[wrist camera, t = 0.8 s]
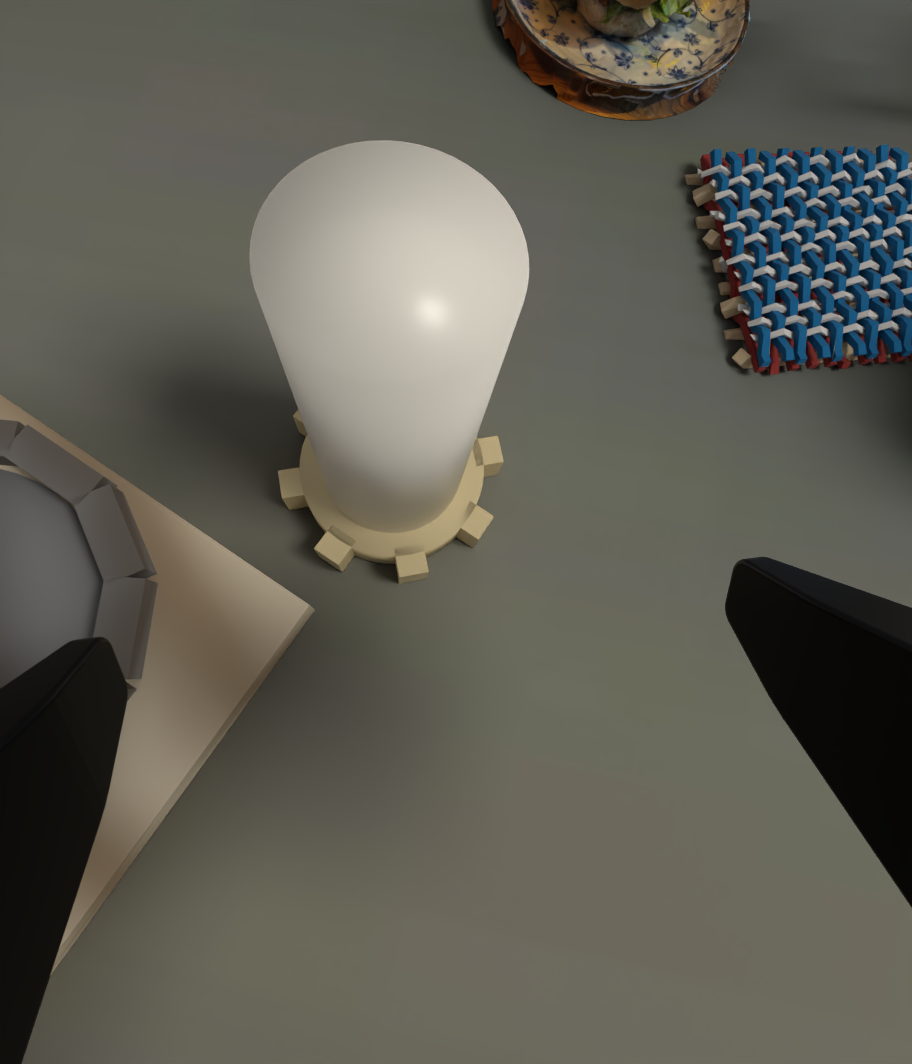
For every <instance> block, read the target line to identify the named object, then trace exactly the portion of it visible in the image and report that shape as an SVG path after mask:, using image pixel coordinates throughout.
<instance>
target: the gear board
mask: <svg viewBox="0 0 912 1064" xmlns="http://www.w3.org/2000/svg"><path fill="white" fill-rule="evenodd" d="M314 611H315V609H314V608H313V607H311V606H310V605H309V604H307V603H306V602H304V601H303V600H301V599H300V598H298V597H297V596H295V595H294V594H293V593H291V592H290V591H288V590H287V589H285V588H284V587H282V586H281V585H279V584H278V583H276V582H275V581H273V580H272V579H271V578H269V577H268V576H266V575H265V574H263V573H262V572H260V571H259V570H257V569H256V568H254V567H253V566H251V565H250V564H248V563H247V562H246V561H244V560H243V559H241V558H240V557H238V556H237V555H235V554H234V553H232V552H231V551H229V550H228V549H226V548H225V547H223V546H222V545H221V544H219V543H218V542H216V541H215V540H213V539H212V538H210V537H209V536H207V535H206V534H204V533H203V532H201V531H200V530H199V529H197V528H196V527H194V526H193V525H191V524H190V523H188V522H187V521H185V520H184V519H182V518H181V517H179V516H178V515H176V514H175V513H174V512H172V511H171V510H169V509H168V508H166V507H165V506H163V505H162V504H160V503H159V502H157V501H156V500H154V499H153V498H151V497H150V496H149V495H147V494H146V493H144V492H143V491H141V490H140V489H138V488H137V487H135V486H134V485H132V484H131V483H129V482H128V481H127V480H125V479H124V478H122V477H121V476H119V475H118V474H116V473H115V472H113V471H112V470H110V469H109V468H107V467H106V466H104V465H103V464H102V463H100V462H99V461H97V460H96V459H94V458H93V457H91V456H90V455H88V454H87V453H85V452H84V451H82V450H81V449H80V448H78V447H77V446H75V445H74V444H72V443H71V442H69V441H68V440H66V439H65V438H63V437H62V436H60V435H59V434H57V433H56V432H55V431H53V430H52V429H50V428H49V427H47V426H46V425H44V424H43V423H41V422H40V421H38V420H37V419H35V418H34V417H32V416H31V415H30V414H28V413H27V412H25V411H24V410H22V409H21V408H19V407H18V406H16V405H15V404H13V403H12V402H10V401H9V400H8V399H6V398H5V397H3V396H2V395H0V688H2V687H3V686H5V685H6V684H8V683H9V682H10V681H12V680H13V679H15V678H16V677H18V676H19V675H21V674H22V673H24V672H25V671H27V670H28V669H29V668H31V667H32V666H34V665H35V664H37V663H38V662H40V661H41V660H43V659H44V658H46V657H47V656H49V655H50V654H51V653H53V652H54V651H56V650H57V649H59V648H60V647H62V646H63V645H65V644H66V643H68V642H69V641H72V640H75V639H84V638H92V637H104V638H106V639H108V640H109V642H110V643H111V645H112V647H113V649H114V652H115V655H116V657H117V660H118V662H119V665H120V667H121V670H122V672H123V675H124V677H125V680H126V683H127V688H128V699H127V705H126V710H125V715H124V720H123V725H122V730H121V734H120V739H119V744H118V749H117V754H116V759H115V764H114V769H113V774H112V779H111V784H110V789H109V793H108V797H107V801H106V806H105V809H104V812H103V816H102V819H101V822H100V825H99V829H98V832H97V835H96V838H95V841H94V844H93V847H92V850H91V853H90V856H89V859H88V862H87V865H86V868H85V871H84V874H83V877H82V880H81V883H80V887H79V890H78V893H77V896H76V899H75V902H74V905H73V908H72V911H71V914H70V917H69V920H68V923H67V926H66V929H65V932H64V935H63V938H62V941H61V945H60V948H59V951H58V954H57V957H56V960H55V963H54V966H53V969H52V972H51V974H52V973H53V972H54V970H55V969H56V967H57V966H58V965H59V963H60V962H61V960H62V959H63V958H64V956H65V955H66V954H67V952H68V951H69V949H70V948H71V947H72V945H73V944H74V943H75V941H76V940H77V938H78V937H79V936H80V934H81V933H82V931H83V930H84V929H85V927H86V926H87V925H88V923H89V922H90V920H91V919H92V918H93V916H94V915H95V913H96V912H97V911H98V909H99V908H100V907H101V905H102V904H103V902H104V901H105V900H106V898H107V897H108V896H109V894H110V893H111V891H112V890H113V889H114V887H115V886H116V884H117V883H118V882H119V880H120V879H121V878H122V876H123V875H124V873H125V872H126V871H127V869H128V868H129V867H130V865H131V864H132V862H133V861H134V860H135V858H136V857H137V855H138V854H139V853H140V851H141V850H142V849H143V847H144V846H145V844H146V843H147V842H148V840H149V839H150V837H151V836H152V835H153V833H154V832H155V831H156V829H157V828H158V826H159V825H160V824H161V822H162V821H163V820H164V818H165V817H166V815H167V814H168V813H169V811H170V810H171V808H172V807H173V806H174V804H175V803H176V802H177V800H178V799H179V797H180V796H181V795H182V793H183V792H184V790H185V789H186V788H187V786H188V785H189V784H190V782H191V781H192V779H193V778H194V777H195V775H196V774H197V773H198V771H199V770H200V768H201V767H202V766H203V764H204V763H205V761H206V760H207V759H208V757H209V756H210V755H211V753H212V752H213V750H214V749H215V748H216V746H217V745H218V744H219V742H220V741H221V739H222V738H223V737H224V735H225V734H226V732H227V731H228V730H229V728H230V727H231V726H232V724H233V723H234V721H235V720H236V719H237V717H238V716H239V714H240V713H241V712H242V710H243V709H244V708H245V706H246V705H247V703H248V702H249V701H250V699H251V698H252V697H253V695H254V694H255V692H256V691H257V690H258V688H259V687H260V685H261V684H262V683H263V681H264V680H265V679H266V677H267V676H268V674H269V673H270V672H271V670H272V669H273V668H274V666H275V665H276V663H277V662H278V661H279V659H280V658H281V656H282V655H283V654H284V652H285V651H286V650H287V648H288V647H289V645H290V644H291V643H292V641H293V640H294V638H295V637H296V636H297V634H298V633H299V632H300V630H301V629H302V627H303V626H304V625H305V623H306V622H307V621H308V619H309V618H310V616H311V615H312V614H313V612H314ZM50 976H51V975H50Z"/></svg>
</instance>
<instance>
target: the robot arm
mask: <svg viewBox="0 0 912 1064" xmlns="http://www.w3.org/2000/svg"><path fill="white" fill-rule="evenodd" d="M725 611H726V616H727V619H728V621H729V623H730V625H731V627H732V629H733V631H734V632H735V634H736V636H737V638H738V640H739V642H740V644H741V645H742V647H743V649H744V651H745V653H746V655H747V657H748V658H749V660H750V662H751V664H752V666H753V668H754V670H755V671H756V673H757V675H758V677H759V679H760V681H761V683H762V684H763V686H764V688H765V690H766V692H767V693H768V695H769V697H770V699H771V700H772V702H773V704H774V705H775V707H776V708H777V710H778V711H779V713H780V715H781V716H782V718H783V719H784V721H785V722H786V724H787V725H788V726H789V728H790V729H791V731H792V732H793V734H794V735H795V737H796V738H797V740H798V741H799V743H800V744H801V746H802V747H803V749H804V750H805V751H806V753H807V754H808V756H809V757H810V759H811V760H812V762H813V763H814V765H815V766H816V768H817V769H818V771H819V772H820V774H821V775H822V776H823V778H824V779H825V781H826V782H827V784H828V785H829V787H830V788H831V790H832V791H833V793H834V794H835V796H836V797H837V799H838V800H839V801H840V803H841V804H842V806H843V807H844V809H845V810H846V812H847V813H848V815H849V816H850V818H851V819H852V821H853V822H854V824H855V825H856V826H857V828H858V829H859V831H860V832H861V834H862V835H863V837H864V838H865V840H866V841H867V843H868V844H869V846H870V847H871V849H872V850H873V851H874V853H875V854H876V856H877V857H878V859H879V860H880V862H881V863H882V865H883V866H884V868H885V869H886V871H887V872H888V874H889V875H890V876H891V878H892V879H893V881H894V882H895V884H896V885H897V887H898V888H899V890H900V891H901V893H902V894H903V896H904V897H905V899H906V900H907V901H908V903H909V904H910V906H911V907H912V608H910V607H908V606H905V605H902V604H899V603H896V602H893V601H890V600H888V599H885V598H882V597H879V596H876V595H873V594H870V593H868V592H865V591H862V590H859V589H856V588H853V587H850V586H848V585H845V584H842V583H839V582H836V581H833V580H831V579H828V578H825V577H822V576H819V575H816V574H813V573H811V572H808V571H805V570H802V569H799V568H796V567H793V566H791V565H788V564H785V563H782V562H779V561H776V560H773V559H771V558H767V557H757V558H749V559H742V560H740V561H738V562H737V563H736V564H735V566H734V568H733V572H732V576H731V581H730V585H729V589H728V594H727V598H726V603H725ZM127 699H128V688H127V683H126V680H125V677H124V675H123V672H122V670H121V667H120V665H119V662H118V660H117V657H116V655H115V652H114V649H113V647H112V645H111V643H110V642H109V640H108V639H106V638H104V637H92V638H84V639H75V640H72V641H69V642H68V643H66V644H65V645H63V646H62V647H60V648H59V649H57V650H56V651H54V652H53V653H51V654H50V655H49V656H47V657H46V658H44V659H43V660H41V661H40V662H38V663H37V664H35V665H34V666H32V667H31V668H29V669H28V670H27V671H25V672H24V673H22V674H21V675H19V676H18V677H16V678H15V679H13V680H12V681H10V682H9V683H8V684H6V685H5V686H3V687H2V688H0V1064H22V1061H23V1057H24V1054H25V1051H26V1048H27V1045H28V1042H29V1039H30V1036H31V1033H32V1030H33V1027H34V1024H35V1021H36V1018H37V1015H38V1012H39V1009H40V1006H41V1003H42V999H43V996H44V993H45V990H46V987H47V984H48V981H49V978H50V975H51V972H52V969H53V966H54V963H55V960H56V957H57V954H58V951H59V948H60V945H61V941H62V938H63V935H64V932H65V929H66V926H67V923H68V920H69V917H70V914H71V911H72V908H73V905H74V902H75V899H76V896H77V893H78V890H79V887H80V883H81V880H82V877H83V874H84V871H85V868H86V865H87V862H88V859H89V856H90V853H91V850H92V847H93V844H94V841H95V838H96V835H97V832H98V829H99V825H100V822H101V819H102V816H103V812H104V809H105V806H106V801H107V797H108V793H109V789H110V784H111V779H112V774H113V769H114V764H115V759H116V754H117V749H118V744H119V739H120V734H121V730H122V725H123V720H124V715H125V710H126V705H127Z"/></svg>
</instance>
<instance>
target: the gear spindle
mask: <svg viewBox="0 0 912 1064" xmlns="http://www.w3.org/2000/svg"><path fill="white" fill-rule="evenodd" d="M249 257H250V271H251V276H252V280H253V284H254V289H255V291H256V294H257V297H258V300H259V302H260V305H261V308H262V311H263V313H264V316H265V319H266V322H267V324H268V327H269V330H270V333H271V335H272V338H273V341H274V344H275V346H276V349H277V352H278V355H279V357H280V360H281V363H282V366H283V368H284V371H285V374H286V377H287V379H288V382H289V385H290V388H291V391H292V393H293V396H294V399H295V402H296V404H297V407H298V410H297V411H296V413H295V414H294V415H293V418H294V420H295V423H296V426H297V428H298V431H299V433H301V434H302V435H304V436H305V440H304V443H303V446H302V451H301V456H300V467H298V468H292V469H285V470H279V471H278V475H279V482H280V489H281V495H282V499H283V501H284V502H285V504H286V505H287V507H288V509H289V510H292V509H298V508H304V507H309V508H310V510H311V512H312V514H313V515H314V517H315V519H316V521H317V523H318V524H319V526H320V527H321V529H322V530H323V531H324V533H325V534H324V536H323V537H322V538H321V540H320V541H319V542H318V544H317V545H316V546H315V548H314V549H315V551H316V552H317V554H318V556H319V557H320V558H322V559H323V560H325V561H326V562H328V563H329V564H331V565H332V566H334V567H335V568H337V569H338V570H340V571H341V572H343V571H344V569H345V568H346V567H347V565H348V564H349V562H350V561H351V560H352V558H353V557H354V556H357V557H359V558H362V559H365V560H368V561H372V562H377V563H384V564H395V565H396V570H397V576H398V581H399V584H400V583H406V582H411V581H416V580H422V579H426V578H427V575H428V572H429V571H428V566H427V561H426V557H428V556H431V555H433V554H434V553H436V552H438V551H440V550H441V549H443V548H444V547H445V546H447V545H448V544H450V543H451V542H452V541H453V540H454V539H455V538H456V537H457V538H458V539H460V540H461V541H463V542H464V543H466V544H467V545H469V546H470V547H472V548H473V547H474V546H475V544H476V543H477V541H478V540H479V538H480V537H481V536H482V534H483V533H484V531H485V530H486V528H487V527H488V525H489V523H490V522H491V520H492V519H493V517H494V516H492V515H491V514H489V513H488V512H486V511H485V510H483V509H482V508H480V507H479V506H477V505H476V504H477V501H478V499H479V497H480V493H481V489H482V485H483V477H488V476H494V475H497V474H498V472H499V470H500V468H501V466H502V464H503V462H504V461H503V457H502V452H501V448H500V444H499V439H498V436H493V437H487V438H481V439H478V438H477V434H478V431H479V428H480V425H481V422H482V419H483V416H484V414H485V411H486V408H487V405H488V402H489V399H490V397H491V394H492V391H493V388H494V385H495V382H496V379H497V377H498V374H499V371H500V368H501V365H502V362H503V360H504V357H505V354H506V351H507V348H508V345H509V342H510V340H511V337H512V334H513V331H514V328H515V325H516V323H517V320H518V317H519V314H520V311H521V308H522V305H523V303H524V299H525V295H526V291H527V287H528V278H529V256H528V251H527V245H526V240H525V237H524V234H523V231H522V229H521V226H520V224H519V222H518V220H517V218H516V216H515V214H514V212H513V210H512V209H511V207H510V206H509V204H508V203H507V201H506V200H505V198H504V197H503V196H502V195H501V194H500V192H499V191H498V190H497V189H496V188H495V187H494V186H493V185H492V184H491V183H490V182H489V181H488V180H487V179H486V178H485V177H483V176H482V175H481V174H480V173H478V172H477V171H476V170H474V169H473V168H471V167H470V166H469V165H467V164H465V163H463V162H462V161H460V160H458V159H456V158H454V157H453V156H450V155H448V154H446V153H443V152H441V151H438V150H436V149H432V148H429V147H426V146H422V145H418V144H413V143H407V142H401V141H388V140H381V141H364V142H357V143H351V144H347V145H343V146H339V147H335V148H333V149H330V150H327V151H325V152H322V153H320V154H318V155H316V156H314V157H312V158H310V159H308V160H306V161H305V162H303V163H302V164H300V165H299V166H297V167H296V168H295V169H293V170H292V171H291V172H289V173H288V174H287V175H286V176H285V177H284V178H283V179H282V180H281V181H280V182H279V183H278V184H277V185H276V187H275V188H274V189H273V190H272V191H271V193H270V194H269V195H268V197H267V199H266V200H265V202H264V204H263V205H262V207H261V209H260V211H259V214H258V216H257V218H256V221H255V223H254V227H253V232H252V236H251V241H250V254H249Z"/></svg>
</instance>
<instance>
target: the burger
mask: <svg viewBox="0 0 912 1064" xmlns="http://www.w3.org/2000/svg"><path fill="white" fill-rule="evenodd" d="M749 7H750V5H749V0H493V1H492V8H493V11H494V12H495V26H496V27H497V26H499V25H500V26H501V29H502V30H503V34H504V39H507V38H509V39H510V41H511V44H512V46H513V47H514V48H515V50H516V53H517V61H518V65H519V68H520V69H521V70H522V71H523V72H525V73H527V74H528V75H529V77H530V78H531V79H532V81H533V82H534V83H537V84H539V85H553V86H554V89H555V91H556V92H557V93H558V97H557V99H559V100H561V101H563V102H565V103H567V104H569V105H571V106H573V107H575V108H577V109H580V110H583V111H586V112H589V113H593V114H596V115H599V116H603V117H611V118H617V119H623V120H653V119H658V118H664V117H670V116H674V115H677V114H679V113H682V112H685V111H687V110H689V109H692V108H694V107H696V106H697V105H699V104H700V103H702V102H703V101H705V100H706V99H707V98H709V97H710V96H711V95H712V94H713V93H714V92H715V90H713V89H715V86H716V85H718V84H717V83H716V82H717V80H718V79H717V78H718V74H719V72H721V71H722V70H723V69H724V67H725V66H726V65H727V64H730V65H731V66H732V63H733V60H734V56H735V54H736V52H737V51H738V49H739V48H740V46H741V44H742V43H743V40H744V37H745V34H746V31H747V27H748V23H749V21H750V12H749ZM493 14H494V13H493ZM725 71H726V70H725ZM724 73H725V72H724ZM721 74H722V75H723V73H721ZM720 79H721V78H720ZM720 79H719V80H720ZM720 81H721V80H720ZM718 87H719V86H718ZM716 88H717V87H716ZM711 92H712V93H711ZM709 93H710V94H709Z"/></svg>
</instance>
